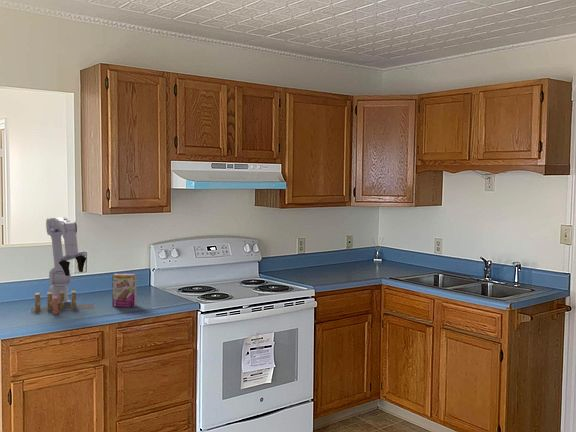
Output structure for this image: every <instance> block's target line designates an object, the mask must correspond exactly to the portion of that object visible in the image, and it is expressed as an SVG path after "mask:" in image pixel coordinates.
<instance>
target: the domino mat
mask: <svg viewBox="0 0 576 432" xmlns="http://www.w3.org/2000/svg"><path fill="white" fill-rule="evenodd" d="M85 310H95V303H86V304H84V303H83V304H76V309H72V304H70V305H64V309H61V310H60V305H58V312H66V311H70V312H71V311H85ZM50 312H51V313H53V305H52V310H48V306H40V311H35V306H34V307H31V310H30V312H29V313H30V314H38V313H40V314H41V313H50Z"/></svg>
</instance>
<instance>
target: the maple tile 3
mask: <svg viewBox="0 0 576 432" xmlns="http://www.w3.org/2000/svg"><path fill="white" fill-rule="evenodd" d="M59 306H60V310H61V309H64V306H65V303H64V291H60V304H59Z"/></svg>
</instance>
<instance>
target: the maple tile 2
mask: <svg viewBox="0 0 576 432" xmlns="http://www.w3.org/2000/svg"><path fill="white" fill-rule="evenodd" d="M46 299H47V307H48V310H52V306H53V303H52V292H49V291H47V298H46Z"/></svg>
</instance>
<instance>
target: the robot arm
mask: <svg viewBox="0 0 576 432" xmlns="http://www.w3.org/2000/svg"><path fill="white" fill-rule="evenodd" d="M45 229H46V235H48V236H50V239H51V245H52V255H53V264H54V265H53V266H54V267H53V268H51V269H50V270H49V272H48V273H49V275H48V281H49V282H48V283H49V285H51V286H49V288H48V292H52V304H53V296H58V305H60V291H64V304H65V303H70V302H71V300H69V294H68V293H69V289H68V288H69V287H68V286H69V285H70V284H71V281H72V275H71V272H70V271H71V270H70V264H71V262H70V261H71V260H74V259H75V260H76V263H77V270H78V272H79V273H83V272H84V266H85V263H86V261H87V256H88V255H87V251H79V248H78V247H79V246H78V240H77V239H78V238H77V233H78V225H77V222H76V221H73V222H71V220H69V219H68V218H67V217H47V218H46V220H45ZM62 238H63V241H64V252H65V255H63V254H64V253H63V243H62Z"/></svg>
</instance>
